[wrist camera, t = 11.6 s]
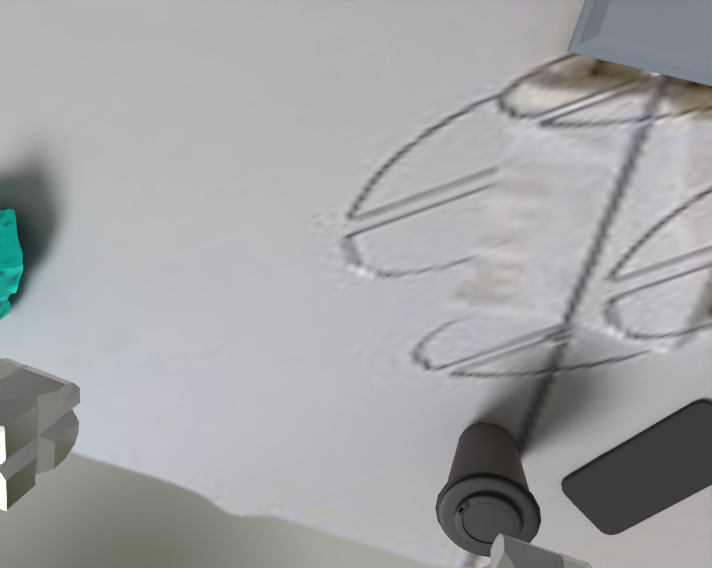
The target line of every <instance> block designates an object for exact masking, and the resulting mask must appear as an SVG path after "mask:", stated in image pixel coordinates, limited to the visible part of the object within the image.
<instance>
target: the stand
mask: <svg viewBox="0 0 712 568" xmlns="http://www.w3.org/2000/svg"><path fill="white" fill-rule="evenodd" d="M567 52H571V53H575V54H579V55H584V56H588V57H592V58H596V59H600V60H605V61H609V62H613V63H617V64H621V65H625V66H630V67H634V68H638V69H642V70H646V71H651V72H655V73H659V74H663V75H667V76H671V77H676V78H680V79H684V80H688V81H692V82H697V83H701V84H705V85H709V86H712V0H585V3H584V6H583V8H582V11H581V14H580V17H579V20H578V23H577V26H576V28H575V31H574V34H573V37H572V40H571V43H570V46H569V48H568V51H567Z"/></svg>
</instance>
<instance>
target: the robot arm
mask: <svg viewBox="0 0 712 568" xmlns="http://www.w3.org/2000/svg"><path fill="white" fill-rule="evenodd" d="M79 403H80V388H79V387H78V386H77V385H76V384H74V383H72V382H70V381H67V380H65V379H62V378H59V377H57V376H54V375H51V374H49V373H46V372H44V371H41V370H38V369H36V368H33V367H28V366H26V365H24V364H21V363H18V362H16V361H13V360H11V359H8V358H7V359H0V509H3V510H8V509H9V508H10V507H11V506H12V505H13V504H14V503H16V502H17V501H18V500H19V499H20V498H21V497H22V496H24V495H25V494H26V493H27V492H28V491H29V490H31V489H32V488H33V487H34V486H35V485H36V479H37V474H40V473H43V472H46V471H49V470H52V469H54V468H55V467H57V466H58V465H59V464H60V463H61V462H62V461H63V460H64V459H65V458H66V457H67V455H68V454H69V452H70V451H71V449H72V447H73V446H74V444H75V441H76V438H77V435H78V428H79V421H78V419H77V417H76V416H75V414H74V412H73V410H72V409H73V408H74V407H75V406H77V405H78V404H79ZM483 568H592V567H591V566H590V565H589V563H588V562H585V561H582V560H579V559H576V558H573V557H570V556H567V555H564V554H561V553H556V552H553V551H550V550H547V549H544V548H542V547H539V546H536V545H533V544H530V543H527V542H524V541H521V540H518V539H515V538H512V537H510V536H507V535H504V534H501V533H500V534H499V535H498V536H497V537H496V539H495V541H494V543H493V545H492V547H491V564H489V565H487V566H485V567H483Z"/></svg>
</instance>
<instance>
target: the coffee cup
mask: <svg viewBox="0 0 712 568" xmlns="http://www.w3.org/2000/svg"><path fill="white" fill-rule="evenodd" d="M436 513H437V519H438V522H439V523H440V525H441V527H442V529H443V530H444V532H445V534H446V535H447V536H448V537H449V538H450V539H451V540H452V541H453V542H454V543H455V544H456V545H458V546H459V547H461V548H462V549H464V550H466V551H468V552H471V553H474V554H477V555H481V556H486V557H491V547H492V545H493V543H494V541H495V539H496V537H497V536H498V535H499V534H500V533H501V534H504V535H507V536H510V537H512V538H515V539H518V540H521V541H524V542H527V543H530V542H531V541H532V539H533V538H534V537H535V536H536V535H537V533H538V530H539V526H540V523H541V515H540V507H539V506H538V504H537V502H536V500H535V498H534V496H533V494H532V493H531V492H530V491H529V488H528V485H527V481H526V478H525V474H524V471H523V467H522V463H521V460H520V456H519V453H518V449H517V445H516V442H515V440H514V438H513V436H512V435H511V434H510V433H509V432H508V431H507V430H506V429H504V428H502V427H500V426H498V425H495V424H491V423H478V424H475V425H472V426H470V427H469V428H467V429H466V430H465V431H464V432H463V433H462V435H461V436H460V438H459V442H458V446H457V449H456V453H455V457H454V460H453V464H452V467H451V471H450V475H449V478H448V482H447V484H446V485H445V486H444V488H443V489H442V491H441V492H440V494H439V495H438V499H437V503H436Z"/></svg>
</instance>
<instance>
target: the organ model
mask: <svg viewBox="0 0 712 568" xmlns="http://www.w3.org/2000/svg"><path fill="white" fill-rule="evenodd" d="M22 259H23V252H22V250H21V247H20V243H19V239H18V235H17V227H16V215H15V211H14V209H12V210H11V209H6V210H0V320H1V319H2V318H3V317H5V316H6V315H7V314H8V313H9V311H10V308H11V304H10V302H9V301H8V298H9V296H10V295H11V294H12V293H16V291H17V289H18V286H19V280H20V277H21V274H22V272H23V263H22Z"/></svg>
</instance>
